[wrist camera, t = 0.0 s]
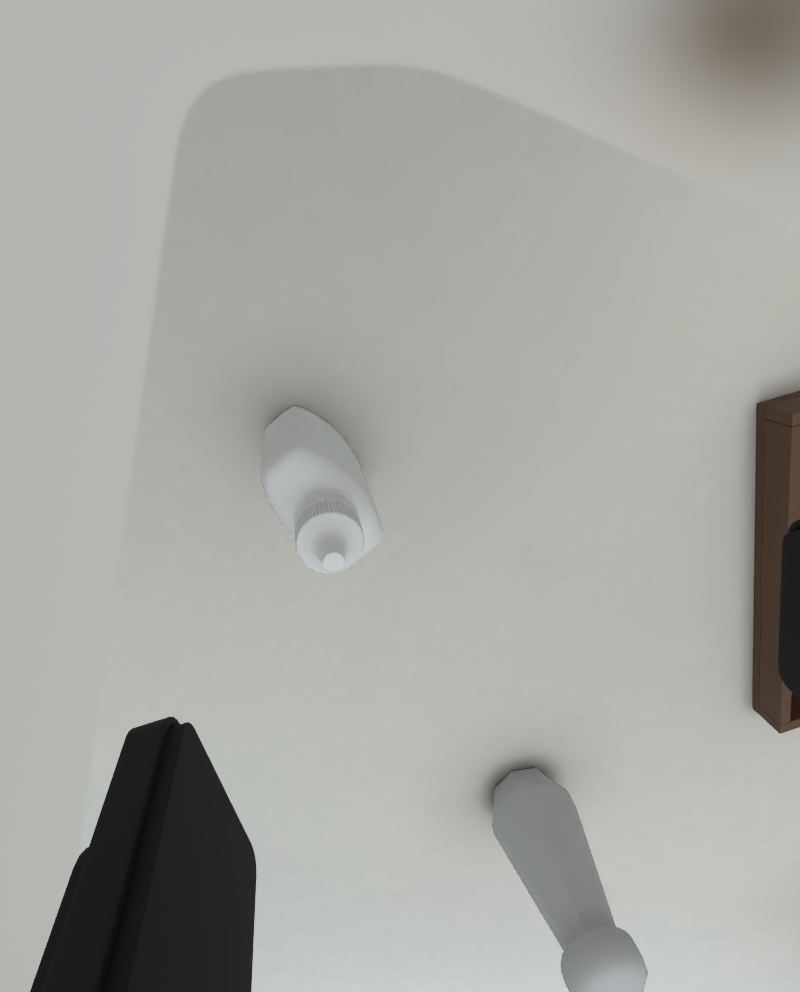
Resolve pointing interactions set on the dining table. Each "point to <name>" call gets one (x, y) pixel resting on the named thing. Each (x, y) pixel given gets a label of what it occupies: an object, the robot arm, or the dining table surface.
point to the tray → (774, 551)
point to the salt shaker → (564, 882)
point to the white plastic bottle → (318, 491)
